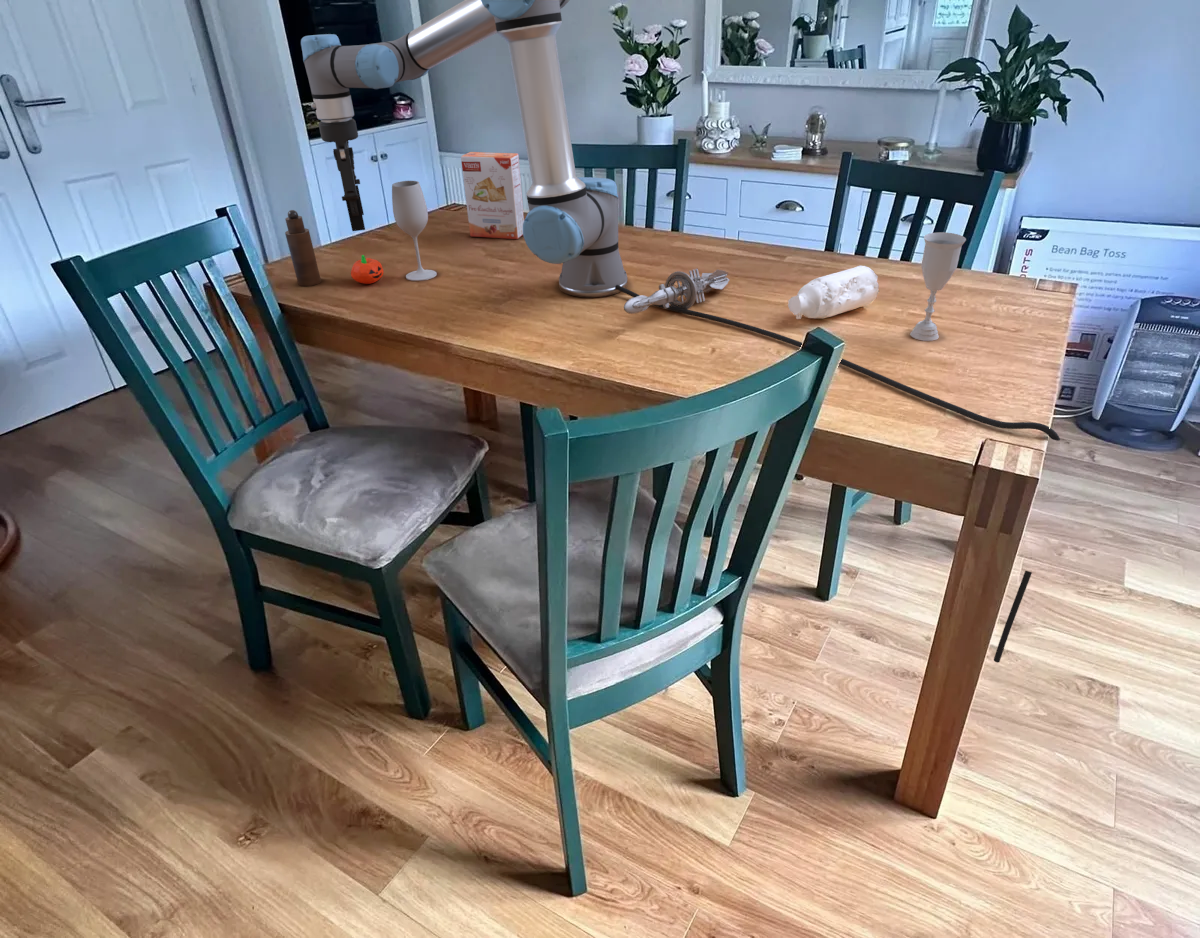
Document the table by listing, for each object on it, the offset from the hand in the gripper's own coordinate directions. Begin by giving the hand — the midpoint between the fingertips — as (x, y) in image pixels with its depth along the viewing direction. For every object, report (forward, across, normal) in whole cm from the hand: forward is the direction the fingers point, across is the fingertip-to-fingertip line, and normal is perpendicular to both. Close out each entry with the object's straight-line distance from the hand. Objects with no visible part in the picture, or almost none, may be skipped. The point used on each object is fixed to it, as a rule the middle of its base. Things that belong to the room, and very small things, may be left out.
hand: (358, 222), depth 172 cm
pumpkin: (+14, 0, 0) cm, 14 cm away
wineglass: (+14, 0, +12) cm, 18 cm away
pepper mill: (+14, -6, -14) cm, 20 cm away
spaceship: (+15, +42, +61) cm, 75 cm away
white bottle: (+15, +56, +88) cm, 105 cm away
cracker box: (+14, -26, +34) cm, 46 cm away
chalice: (+15, +70, +98) cm, 122 cm away
